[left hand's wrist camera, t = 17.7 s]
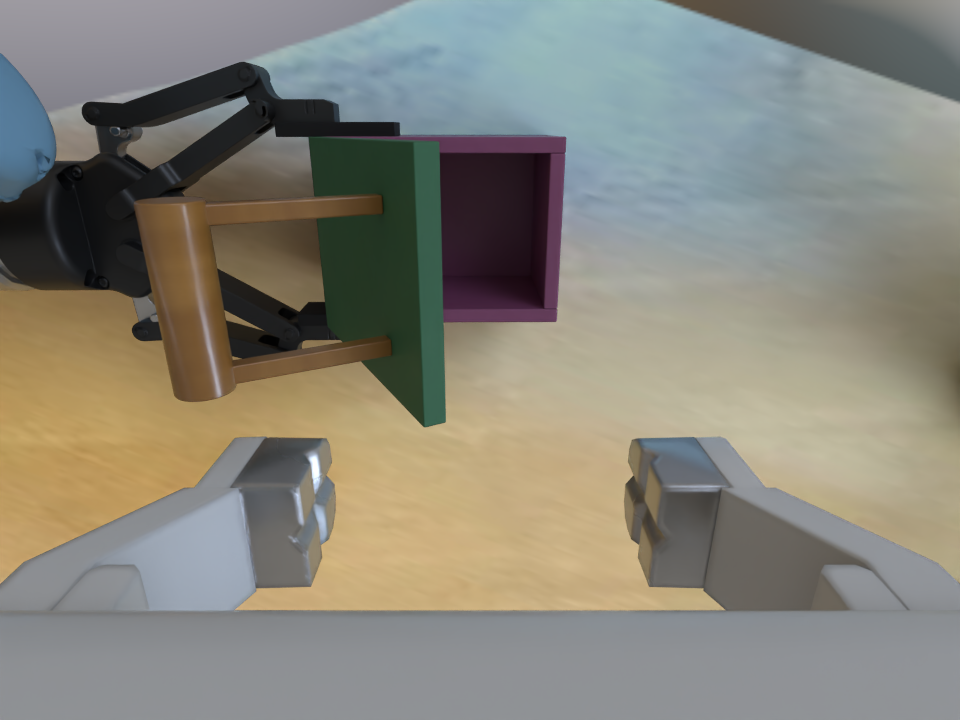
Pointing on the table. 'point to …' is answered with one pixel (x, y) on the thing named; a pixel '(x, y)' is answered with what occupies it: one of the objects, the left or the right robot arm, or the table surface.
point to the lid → (345, 269)
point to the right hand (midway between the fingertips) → (401, 226)
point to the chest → (499, 225)
